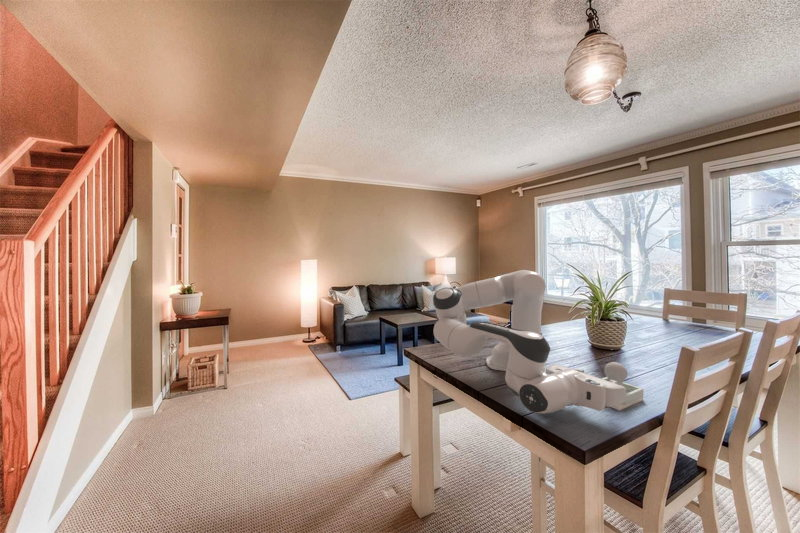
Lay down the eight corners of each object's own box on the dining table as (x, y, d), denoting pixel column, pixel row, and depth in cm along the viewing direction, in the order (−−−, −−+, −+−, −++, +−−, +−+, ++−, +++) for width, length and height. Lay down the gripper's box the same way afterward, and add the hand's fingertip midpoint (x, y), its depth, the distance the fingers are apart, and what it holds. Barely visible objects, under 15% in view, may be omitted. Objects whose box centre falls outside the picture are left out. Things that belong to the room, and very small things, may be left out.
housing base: (619, 410, 86) (619, 398, 86) (582, 395, 96) (582, 384, 96) (643, 400, 93) (643, 388, 93) (606, 386, 102) (606, 376, 102)
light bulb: (599, 389, 98) (600, 359, 97) (616, 389, 98) (617, 359, 98) (613, 398, 92) (614, 366, 91) (631, 397, 92) (632, 365, 92)
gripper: (536, 383, 92) (564, 375, 99) (608, 414, 74) (636, 402, 81) (536, 363, 92) (564, 356, 99) (609, 389, 74) (637, 378, 81)
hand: (597, 377), depth 90 cm, fingers open, 8 cm apart
